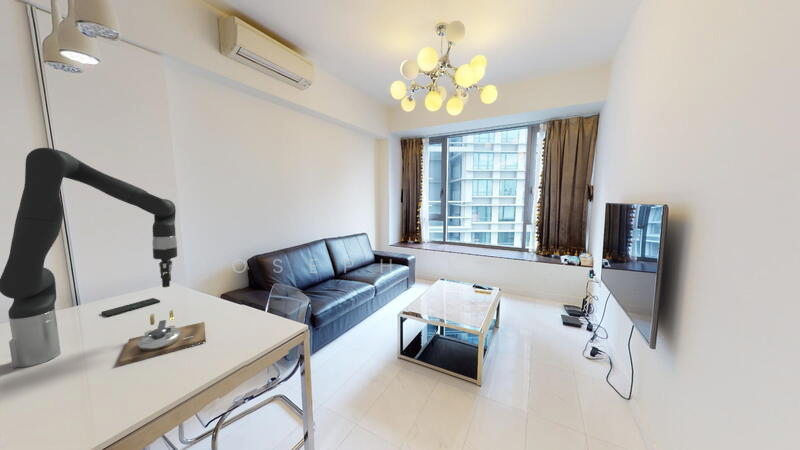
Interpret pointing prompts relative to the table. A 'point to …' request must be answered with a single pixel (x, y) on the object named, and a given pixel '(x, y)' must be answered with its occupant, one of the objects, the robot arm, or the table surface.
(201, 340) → the base plate
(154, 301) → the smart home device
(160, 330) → the silver rotary lever
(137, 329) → the table surface
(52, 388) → the table surface
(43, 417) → the table surface
